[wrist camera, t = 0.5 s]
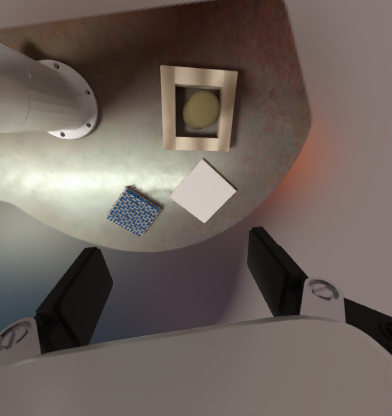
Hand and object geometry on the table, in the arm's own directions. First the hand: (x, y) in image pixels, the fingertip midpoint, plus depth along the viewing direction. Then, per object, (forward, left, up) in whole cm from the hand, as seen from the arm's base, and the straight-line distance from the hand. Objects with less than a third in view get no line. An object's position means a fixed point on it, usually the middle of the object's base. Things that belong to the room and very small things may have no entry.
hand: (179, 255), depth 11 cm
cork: (-3, +11, -32) cm, 34 cm away
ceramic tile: (+10, -1, -32) cm, 33 cm away
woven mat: (0, -16, -33) cm, 37 cm away
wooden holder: (-3, +11, -32) cm, 34 cm away
